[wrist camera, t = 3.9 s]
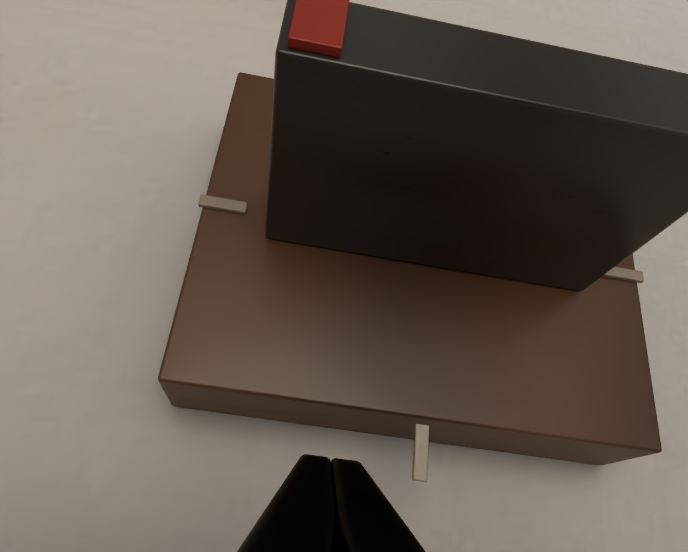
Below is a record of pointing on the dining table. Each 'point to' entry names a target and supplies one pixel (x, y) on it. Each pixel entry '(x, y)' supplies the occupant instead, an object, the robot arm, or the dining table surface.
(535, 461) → the dining table surface
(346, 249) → the pointer
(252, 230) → the dial panel
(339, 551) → the robot arm
